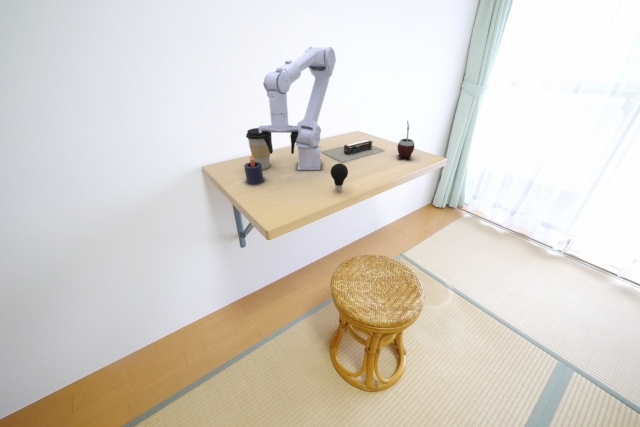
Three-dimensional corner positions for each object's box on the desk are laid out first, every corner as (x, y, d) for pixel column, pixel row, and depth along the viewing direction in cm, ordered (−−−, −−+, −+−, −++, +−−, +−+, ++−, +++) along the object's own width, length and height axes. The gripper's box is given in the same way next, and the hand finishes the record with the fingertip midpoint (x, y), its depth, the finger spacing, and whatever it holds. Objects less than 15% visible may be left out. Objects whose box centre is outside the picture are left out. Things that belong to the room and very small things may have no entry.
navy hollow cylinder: (264, 177, 100) (262, 161, 97) (261, 184, 95) (259, 168, 92) (249, 177, 100) (246, 161, 97) (245, 184, 95) (242, 168, 92)
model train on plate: (382, 150, 125) (383, 142, 123) (341, 162, 113) (342, 152, 111) (362, 143, 135) (363, 134, 133) (323, 152, 123) (323, 143, 121)
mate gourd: (405, 162, 113) (411, 126, 105) (391, 156, 118) (396, 123, 110) (415, 158, 116) (422, 124, 108) (401, 153, 122) (407, 120, 114)
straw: (257, 179, 98) (254, 156, 93) (256, 180, 97) (253, 157, 92) (253, 179, 98) (249, 156, 93) (252, 180, 97) (248, 157, 92)
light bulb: (334, 196, 87) (335, 168, 82) (327, 188, 92) (327, 162, 87) (350, 192, 89) (351, 165, 84) (342, 185, 94) (343, 159, 88)
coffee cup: (269, 171, 105) (264, 134, 97) (247, 170, 106) (241, 133, 98) (276, 163, 113) (273, 128, 104) (256, 161, 114) (251, 126, 106)
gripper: (254, 115, 83) (259, 156, 90) (299, 115, 83) (301, 156, 90) (259, 111, 89) (263, 149, 96) (301, 111, 89) (302, 150, 96)
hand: (282, 152), depth 93 cm, fingers open, 7 cm apart
